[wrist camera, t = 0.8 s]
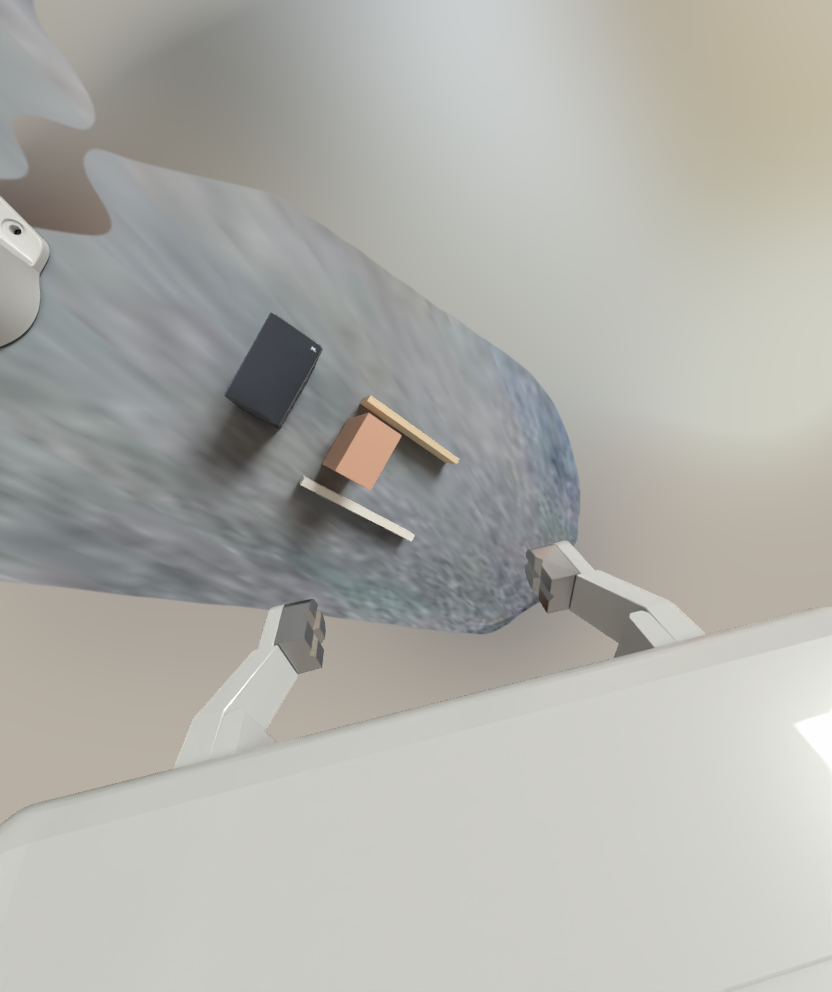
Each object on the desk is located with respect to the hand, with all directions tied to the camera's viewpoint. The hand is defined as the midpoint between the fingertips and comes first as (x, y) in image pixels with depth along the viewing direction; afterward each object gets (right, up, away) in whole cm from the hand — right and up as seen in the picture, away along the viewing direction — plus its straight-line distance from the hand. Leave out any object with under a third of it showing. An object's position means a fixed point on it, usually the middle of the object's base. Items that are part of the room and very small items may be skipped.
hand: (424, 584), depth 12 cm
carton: (-11, +11, +37) cm, 40 cm away
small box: (-20, +19, +31) cm, 42 cm away
